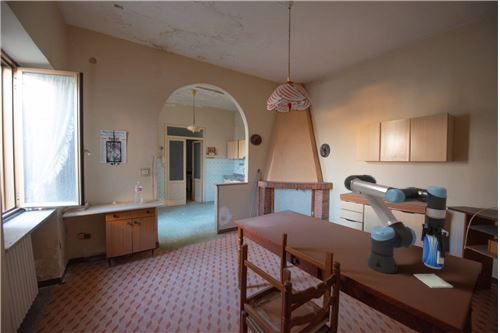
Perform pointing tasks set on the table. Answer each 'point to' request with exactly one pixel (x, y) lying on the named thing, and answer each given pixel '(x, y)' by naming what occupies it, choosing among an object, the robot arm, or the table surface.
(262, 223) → the table surface
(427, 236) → the beer can
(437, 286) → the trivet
